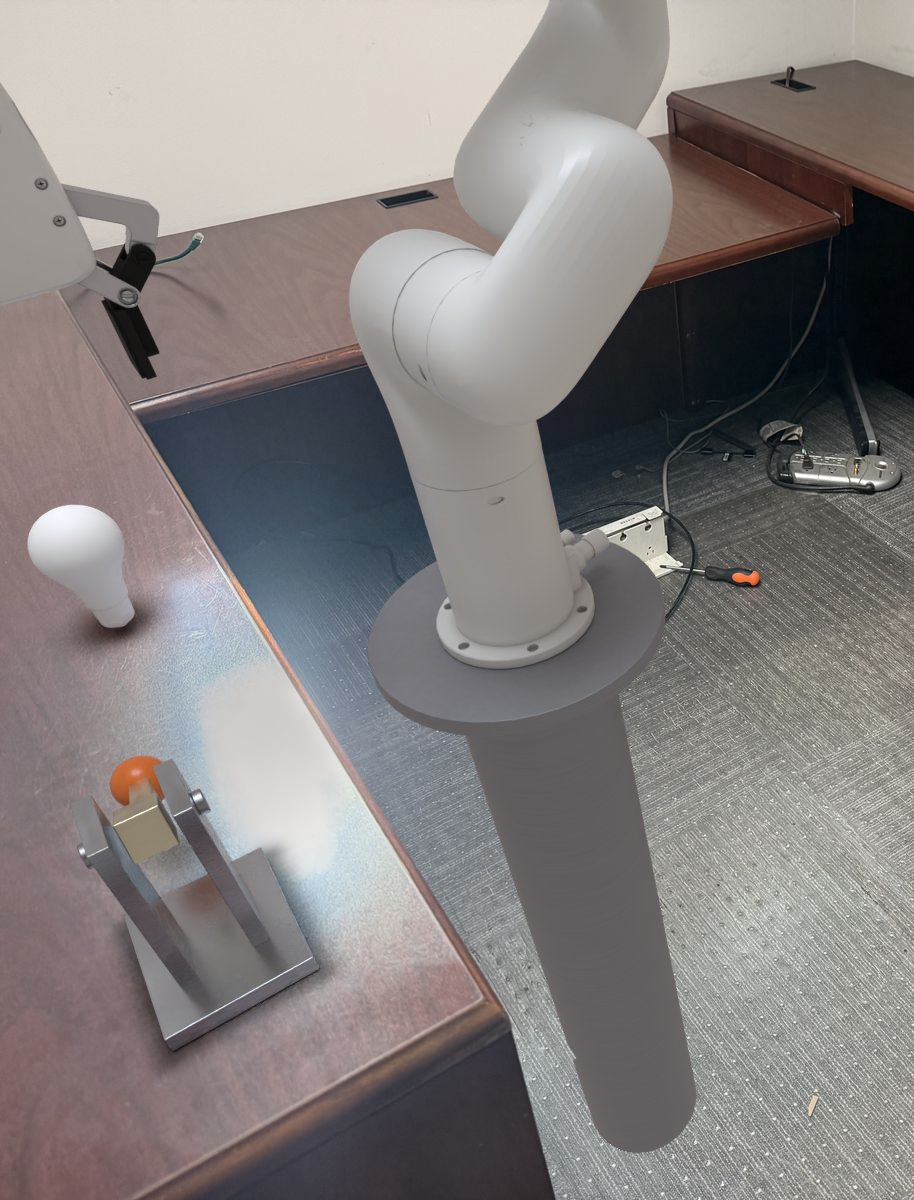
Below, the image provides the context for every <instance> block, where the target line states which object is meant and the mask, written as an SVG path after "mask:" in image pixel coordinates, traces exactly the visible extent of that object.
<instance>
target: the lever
mask: <svg viewBox="0 0 914 1200" xmlns="http://www.w3.org/2000/svg"><path fill="white" fill-rule="evenodd" d="M162 762H164V761H163V760H162V759H159V758H158V757H155V756H153V755H144V754H143V755H142V754H141V755H136V756H131V757H129V758H127V759H125V760H123V761H121V762H120V763H119V764H118V766H116V768H115V769H114V770H113V772H112V773H111V776H110V780H109V789H110V793H111V795H112V797H113V799H114V800H115V801H116V802H117V803H118V804H119V805H121V806H122V807H120V808H118V809H115V810H113V811H112V826H113V829H114V830H115V832H116V834H117V835H118V837H119V839H120V841H121V842H122V844H123V846H124V848H125V849H126V851H127V853H128V855H129V856H130V858H131V860H132V862H133V863H134V865H137V864H138V865H139V864H141V863H144V862H146V861H147V860H149V859H151V858H153V857H156V856H158V855H159V854H161V853H163V852H166V851H168V850H170V849H172V848H174V847H176V846H179V844H180V839H179V834H178V829H177V826H176V825H175V822H174V821H173V818H171V816H170V813H169V812H168V810H167V808H166V807H165V805H164V803H163V801H164V800H165V796H164V794H163V792H162V789H161V787H160V784H159V782H158V779H157V777H156V774H155V772H154V769H153V766H155V765H158V764H160V763H162Z"/></svg>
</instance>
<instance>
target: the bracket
mask: <svg viewBox="0 0 914 1200" xmlns="http://www.w3.org/2000/svg"><path fill="white" fill-rule="evenodd" d="M153 769H154V772H155V774H156V777H157V779H158V782H159V784H160V787H161V789H162V792H163V794H164V796H165V798H164V800H165V801H166V804H167V806H168V809H169V811H170V814H171V816H172V819H173V820H174V821H175V823H176V825H177V826H178V828H179V829H180V831H181V833H182V834H183V836H184V838H185V840H186V841H187V843H188V844H189V845H190V847H191V849H192V851H193V852H194V854H195V855H196V857H197V859H198V861H199V863H201V865H202V866H203V868H204V870H205V871H206V873H207V874H204V875H202V876H200V877H199V878H195V880H193V881H191V882H188V883H187V884H185V885H183V886H180V887H179V888H176V889H174V890H173V891H170V892H169V893H166V894H165V895H162V896H161V895H160V894H159V892H158V891H157V890H156V888H155V886H154V885H153V884H152V883H151V881H150V879H149V878H148V877H147V875H146V874H145V872H144V871H143V869H142V868H141V866H140V865H139V864H137V865H134V863H133V862H132V860H131V858H130V856H129V855H128V853H127V851H126V849H125V848H124V846H123V844H122V842H121V841H120V839H119V837H118V835H117V834H116V832H115V830H114V829H113V824H112V823H111V822H110V821H109V819H108V817H107V816H106V815H105V813H104V811H103V810H102V809H101V807H100V806H99V804H98V802H97V801H96V800H95V798H94V797H93V796H92V794H89V795H86V796H84V797H82V798H80V799H78V800H77V799H76V800H75V801H73V802H71V803H70V804H69V805H70V809H71V811H72V815H73V818H74V821H75V824H76V828H77V832H78V834H79V838H80V840H81V843H78V844H77V845H76V849H77V853H78V855H79V857H80V859H81V861H82V862H83V864H84V865H85V867H86V868H87V869H88V870H92V869H94V870H95V871H96V873H97V874H98V875H99V877H100V878H101V880H102V881H103V882H104V884H105V885H106V887H107V888H108V889H109V890H110V892H111V893H112V895H113V896H114V898H115V899H116V900H117V902H118V903H119V904H120V906H121V907H122V909H123V910H124V911H125V913H126V914H125V915H123V919H124V922H125V925H126V929H127V931H128V934H129V937H130V941H131V943H132V946H133V949H134V952H135V955H136V958H137V962H138V965H139V968H140V970H141V974H142V976H143V980H144V983H145V986H146V989H147V992H148V995H149V999H150V1001H151V1004H152V1007H153V1010H154V1013H155V1016H156V1020H157V1023H158V1025H159V1028H160V1031H161V1034H162V1038H163V1041H164V1042H165V1043H166V1044H167V1045H168V1047H169V1049H171V1051H172V1052H175V1051H177V1050H178V1049H181V1048H182V1047H184V1046H186V1045H187V1044H190V1043H191V1042H192V1041H194V1040H197V1039H198V1038H199V1037H201V1036H203V1035H205V1034H207V1033H208V1032H211V1031H212V1030H214V1029H216V1028H217V1027H219V1026H221V1025H223V1024H225V1023H226V1022H228V1021H230V1020H231V1019H233V1018H235V1017H237V1016H239V1015H241V1014H242V1013H244V1012H246V1011H247V1010H250V1009H251V1008H253V1007H255V1006H256V1005H258V1004H260V1003H262V1002H263V1001H265V1000H266V999H268V998H270V997H273V996H274V995H276V994H277V993H279V992H281V991H283V990H284V989H286V988H288V987H289V986H291V985H293V984H295V983H297V982H299V981H301V980H303V979H304V978H306V977H307V976H309V975H312V974H313V973H315V972H317V971H319V969H320V967H319V965H318V963H317V960H316V959H315V956H314V954H313V952H312V950H311V947H310V945H309V943H308V942H307V939H306V937H305V935H304V933H303V931H302V929H301V927H300V925H299V923H298V921H297V918H296V916H295V915H294V914H295V913H294V912H293V910H292V907H291V906H290V904H289V902H288V900H287V898H286V897H287V896H285V893H284V890H283V889H282V887H281V884H280V882H279V881H278V879H277V876H276V874H275V872H274V870H273V868H272V866H271V863H270V862H269V860H268V858H267V856H266V854H265V852H264V850H263V848H262V847H257V848H256V849H254V850H252V851H250V852H248V853H246V854H244V855H242V856H240V857H238V858H236V859H234V860H233V859H232V857H231V856H230V854H229V852H228V850H227V849H226V847H225V845H224V843H223V842H222V841H221V840H222V839H220V836H219V835H218V834H217V832H216V830H215V829H214V827H213V825H212V823H211V821H210V820H209V818H208V817H207V814H209V813H211V812H212V809H211V806H210V804H209V802H208V800H207V798H206V797H205V795H204V793H203V791H202V790H201V789H200V788H196V789H194V790H192V789H191V787H190V786H189V784H188V782H187V781H186V779H185V777H184V776H183V774H182V772H181V770H180V769H179V767H178V766H177V764H176V761H175V760H174V759H173V758H169V759H166V760H165V761H163V762H162V763H160V764H158V765H155V766H153Z"/></svg>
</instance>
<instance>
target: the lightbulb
mask: <svg viewBox="0 0 914 1200" xmlns="http://www.w3.org/2000/svg"><path fill="white" fill-rule="evenodd" d="M27 552H28V555H29V558H30V560H31V562H32V564H33V565H34V567H35V568H36V569H37V570H38V571H39V572H40V573H41V574H42V575H44V576H45V577H47V578H48V579H50V580H52V581H54V582H56V583H57V584H59V585H62V586H64V587H65V588H67V589H69V590H70V591H71V592H72V593H74V595H75V596H77V598H78V599H80V601H81V602H82V604H83V605H84V607H86V608H87V609H89V610H91V611H92V613H93V615H94V616H95V618H96V619H97V621H98V622H99V623H100V625H101V626H103V627H105V628H108V629H110V628H111V629H114V628H115V629H116V628H123V627H125V626H126V625H128V623H129V622H130V621H132V619H134V617H135V614H136V611H135V609H134V606H133V604H132V602H131V599H130V598H129V595H128V594H129V590H128V589H129V588H128V587H127V584H126V582H125V579H124V575H123V561H124V555H125V539H124V535H123V532H122V530H121V528H120V527H119V525H118V524H117V523H116V522H115V520H114V519H113V518H111V517H110V515H108V514H107V513H105V512H104V511H101V510H100V509H97V508H95V507H91V506H90V505H89V506H88V505H85V504H66V505H61V506H57V507H55V508H52V509H50V510H48V511H46V512H44V513H43V514H42V515H41V516H40V517H39V518H37V520H35V521H34V523H33V524H32V527H31V528H30V530H29V533H28V537H27Z"/></svg>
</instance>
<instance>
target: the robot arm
mask: <svg viewBox="0 0 914 1200" xmlns="http://www.w3.org/2000/svg"><path fill="white" fill-rule="evenodd" d="M668 10H669V9H668V1H667V0H548V3H547V6H546V9H545V10H544V13H543V15H542V17H541V19H540V21H539V22H538V24H537V26H536V27H535V29H534V31H533V33H532V34H531V37H530V39H529V40H528V41H527V44H526V45H525V46H524V48H523V50H522V51H521V52H520V54H519V56H518V57H517V59H516V60H515V61H514V63H513V65H512V66H511V68H510V69H509V70H508V72H507V73H506V74H505V76H504V78H503V79H502V81H501V82H500V84H499V85H498V87H497V89H496V90H495V92H494V93H493V94H492V96H491V97H490V98H489V100H488V102H487V103H486V105H485V106H484V107H483V109H482V111H481V112H480V114H479V115H478V116H477V118H476V120H475V121H474V123H473V124H472V125H471V127H470V129H468V132H467V133H466V136H464V138H463V140H462V142H461V144H460V146H459V149H458V151H457V154H456V157H455V160H454V165H453V173H452V175H453V177H452V179H453V186H454V191H455V194H456V197H457V199H458V202H459V204H460V206H461V207H462V209H463V210H464V211H465V213H466V214H467V215H468V216H469V218H470V219H471V220H472V221H473V222H474V223H475V224H477V225H478V226H479V227H481V228H482V229H483V230H485V231H486V232H488V233H489V234H491V235H492V236H494V237H496V238H497V239H499V240H501V241H503V242H502V243H501V245H500V247H499V248H498V250H497V251H496V252H495V254H493V253H490V252H488V251H487V250H484V249H482V248H480V247H478V246H476V245H474V244H472V243H470V242H467V241H465V240H463V239H461V238H459V237H457V236H453V235H451V234H448V233H445V232H442V231H438V230H433V229H425V228H409V229H401V230H397V231H394V232H392V233H388V234H386V235H384V236H383V237H381V238H379V239H378V240H376V241H375V242H373V244H371V245H370V246H369V247H368V248H367V249H366V250H365V251H364V252H363V253H362V255H361V256H360V257H359V259H358V262H357V263H356V265H355V267H354V269H353V272H352V275H351V279H350V284H349V290H348V307H349V308H348V309H349V316H350V320H351V324H352V328H353V332H354V334H355V337H356V340H357V342H358V345H359V346H358V347H359V348H360V351H361V353H362V355H363V357H364V360H365V362H366V364H367V366H368V368H369V371H370V372H371V374H372V377H373V379H374V381H375V384H376V385H377V387H378V389H379V392H380V394H381V396H382V399H383V401H384V404H385V406H386V408H387V410H388V412H389V415H390V417H391V420H392V423H393V426H394V429H395V431H396V435H397V437H398V440H399V443H400V447H401V449H402V453H403V456H404V458H405V459H404V460H405V463H406V465H407V469H408V472H409V475H410V478H411V482H412V485H413V488H414V491H415V495H416V498H417V501H418V504H419V508H420V511H421V514H422V517H423V520H424V524H425V527H426V530H427V533H428V536H429V541H430V543H431V547H432V549H433V553H434V556H435V560H436V561H437V563H438V566H439V569H440V572H441V575H442V579H443V582H444V585H445V588H446V592H447V595H448V597H447V598H446V599H445V600H444V602H443V604H442V605H441V607H440V609H439V612H438V615H437V618H436V628H437V632H438V635H439V639H440V641H441V643H442V645H443V647H444V649H445V650H446V651H447V652H448V653H449V654H450V655H451V656H453V657H454V658H456V659H458V660H459V661H461V662H463V663H466V664H469V665H472V666H476V667H482V668H488V669H508V668H518V667H523V666H527V665H531V664H535V663H538V662H541V661H543V660H546V659H549V658H551V657H553V656H555V655H557V654H559V653H561V652H562V651H564V650H565V649H567V648H568V647H570V646H571V645H573V644H574V643H575V642H576V641H577V640H578V639H579V638H580V637H581V636H582V635H583V634H584V633H585V631H586V630H587V629H588V627H589V626H590V624H591V622H592V619H593V617H594V611H595V603H594V596H593V592H592V590H591V587H590V585H589V584H588V582H587V581H586V579H585V578H584V577H582V576H581V575H580V572H582V571H583V570H584V569H585V567H586V562H587V561H588V560H589V559H591V558H594V557H596V556H597V555H598V554H600V553H601V552H602V551H604V550H605V549H606V548H608V546H609V542H610V540H609V539H610V538H608V536H607V534H606V532H604V531H603V530H602V529H600V528H594V529H592V530H591V531H590V532H588V533H587V534H584V535H585V536H584V537H583V538H581V539H580V540H579V542H578V543H577V544H575V545H574V546H572V544H573V543H575V541H576V539H575V536H574V534H575V533H574V534H573V532H572V531H571V530H569V529H566V528H565V529H564V530H563V531H561V530H560V529H561V528H560V526H559V521H558V520H559V519H558V516H557V511H556V507H555V501H554V498H553V492H552V488H551V484H550V478H549V473H548V470H547V465H546V459H545V456H544V450H543V446H542V439H541V435H540V431H539V427H538V422H537V420H539V419H542V418H543V417H544V416H546V415H548V414H549V413H550V412H551V411H553V410H554V409H555V408H556V407H557V406H558V405H559V404H561V402H562V401H564V400H565V398H566V397H567V396H568V395H570V392H571V391H572V390H573V389H574V388H575V386H576V385H577V384H578V382H579V381H580V380H581V378H582V377H583V375H584V374H585V372H586V371H587V370H588V368H589V367H590V365H591V364H592V362H593V361H594V359H595V358H596V356H597V355H598V354H599V352H600V350H601V349H602V347H603V346H604V344H605V343H606V341H608V340H607V339H608V338H609V337H610V336H611V334H612V332H613V331H614V329H615V328H616V326H617V324H618V323H619V322H620V320H621V319H622V317H623V315H625V313H626V311H627V310H628V308H629V306H630V305H631V303H632V302H633V300H634V299H635V297H636V296H637V295H638V293H639V291H640V290H641V288H642V287H643V286H644V284H645V282H646V280H647V279H648V277H649V276H650V274H651V272H652V271H653V269H654V267H655V266H656V264H657V262H658V260H659V258H660V256H661V254H662V252H663V249H664V247H665V244H666V242H667V240H668V236H669V231H670V228H671V223H672V217H673V211H674V209H673V208H674V191H673V183H672V179H671V175H670V172H669V169H668V166H667V164H666V162H665V160H664V158H663V156H662V155H661V153H660V151H659V150H658V149H657V147H656V146H655V145H654V144H653V143H652V142H651V141H650V139H648V138H647V137H646V136H645V135H644V134H642V133H641V132H639V131H638V128H639V126H640V124H641V123H642V122H643V120H644V118H645V116H646V114H647V112H648V111H649V109H650V107H651V106H652V104H653V103H654V100H655V99H656V97H657V95H658V94H659V91H660V88H661V86H662V84H663V81H664V79H665V75H666V72H667V68H668V64H669V57H670V48H671V47H670V44H671V41H670V40H671V39H670V35H671V34H670V20H669V11H668ZM79 217H81V218H87V219H92V220H96V221H97V220H98V221H103V222H108V223H113V224H119V225H122V226H125V241H124V243H123V245H122V247H121V249H120V251H119V253H118V255H117V257H116V259H115V261H114V264H113V265H110V264H108V263H106V262H104V261H102V260H101V259H99V258H96V255H95V251H94V249H93V247H92V243H91V241H90V239H89V237H88V235H87V232H86V230H85V228H84V226H83V223H82V221H81V219H80V218H79ZM159 227H160V213H159V211H158V209H157V208H156V207H155V206H154V205H152V203H151V202H149V201H147V200H145V199H140V198H136V197H130V196H125V195H120V194H115V193H110V192H105V191H101V190H96V189H92V188H86V187H81V186H75V185H70V184H66V183H61V182H60V179H59V177H58V176H57V174H56V172H55V170H54V168H53V166H52V165H51V163H50V161H49V159H48V158H47V156H46V154H45V152H44V150H43V149H42V147H41V145H40V143H39V141H38V140H37V138H36V136H35V135H34V133H33V132H32V130H31V128H30V127H29V125H28V124H27V122H26V120H25V119H24V117H23V115H22V114H21V112H20V110H19V108H18V107H17V105H16V103H15V102H14V100H13V99H12V97H11V95H10V94H9V93H8V91H7V89H6V88H5V87H4V86H3V84H2V82H0V307H1V306H2V307H3V306H6V305H10V304H13V303H17V302H21V301H23V300H27V299H32V298H35V297H38V296H43V295H45V294H49V293H52V292H56V291H59V290H63V289H66V288H69V287H72V286H74V285H76V284H77V285H79V286H82V287H83V288H85V289H88V290H89V291H91V292H94V294H97V295H99V296H101V297H103V299H102V300H100V301H101V304H102V306H103V308H104V310H105V312H106V314H107V316H108V318H109V321H110V322H111V325H112V326H113V328H114V329H113V330H114V331H115V333H116V335H117V337H118V339H119V341H120V343H121V345H122V347H123V350H124V351H125V354H126V355H127V358H128V359H129V362H130V363H131V365H132V366H133V368H134V369H135V371H136V372H137V373H138V375H139V377H140V378H141V379H142V380H143V379H146V380H147V381H149V380H152V379H155V378H157V377H158V375H157V373H156V371H155V368H154V367H153V365H152V363H151V361H150V357H153V356H157V355H160V354H161V352H160V350H159V347H158V345H157V343H156V341H155V339H154V337H153V335H152V332H151V330H150V328H149V326H148V324H147V322H146V320H145V317H144V315H143V313H142V311H141V309H140V306H139V304H140V303H141V301H142V294H141V293H142V291H143V289H144V287H145V285H146V283H147V280H148V279H149V277H150V275H151V273H152V271H153V269H154V267H155V265H156V262H157V257H156V248H157V245H158V236H159Z"/></svg>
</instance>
